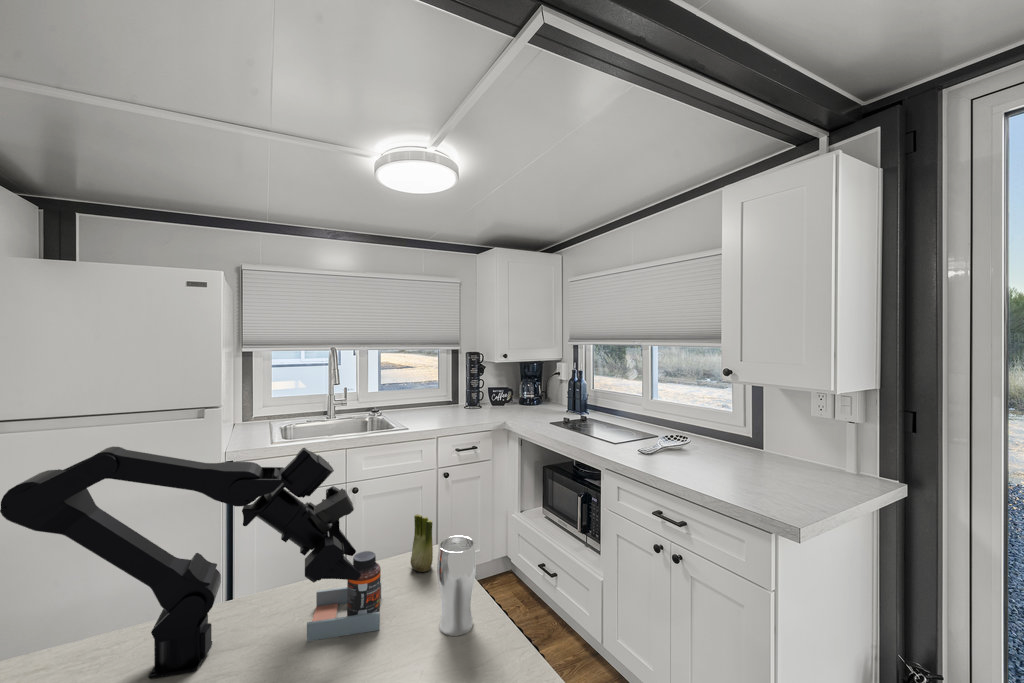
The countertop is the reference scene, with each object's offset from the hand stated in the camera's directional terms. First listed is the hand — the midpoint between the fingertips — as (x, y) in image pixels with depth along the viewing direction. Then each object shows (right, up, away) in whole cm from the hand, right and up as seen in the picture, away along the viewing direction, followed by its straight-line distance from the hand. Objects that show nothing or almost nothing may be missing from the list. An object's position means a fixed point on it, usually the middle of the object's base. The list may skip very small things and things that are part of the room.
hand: (356, 564), depth 82 cm
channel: (-2, -10, 0) cm, 10 cm away
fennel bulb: (+9, -10, +17) cm, 22 cm away
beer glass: (+19, -10, -2) cm, 22 cm away
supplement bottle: (+1, -10, +1) cm, 10 cm away
